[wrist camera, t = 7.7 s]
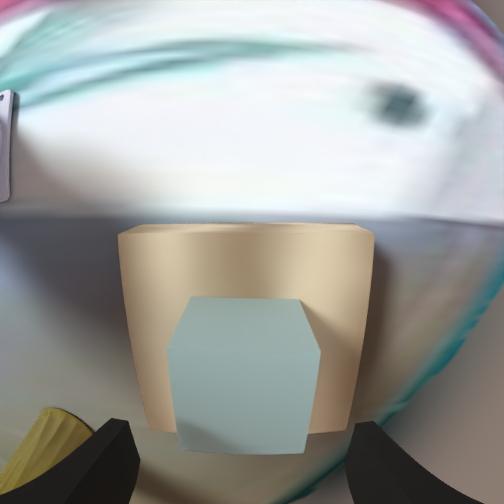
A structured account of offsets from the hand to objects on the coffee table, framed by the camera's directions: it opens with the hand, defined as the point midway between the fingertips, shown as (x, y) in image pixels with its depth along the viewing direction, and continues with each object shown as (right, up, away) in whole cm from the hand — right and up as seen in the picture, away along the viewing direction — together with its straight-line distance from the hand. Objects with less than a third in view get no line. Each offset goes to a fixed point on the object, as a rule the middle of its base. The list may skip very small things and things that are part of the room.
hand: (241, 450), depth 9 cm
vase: (-16, -10, +13) cm, 23 cm away
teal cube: (0, +2, +7) cm, 7 cm away
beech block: (0, +2, +11) cm, 11 cm away
